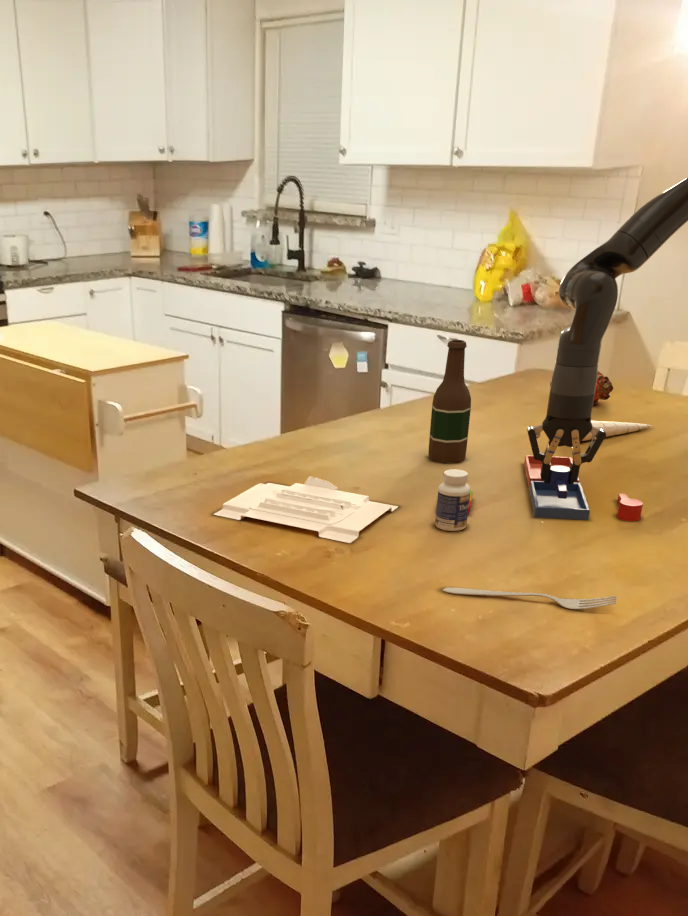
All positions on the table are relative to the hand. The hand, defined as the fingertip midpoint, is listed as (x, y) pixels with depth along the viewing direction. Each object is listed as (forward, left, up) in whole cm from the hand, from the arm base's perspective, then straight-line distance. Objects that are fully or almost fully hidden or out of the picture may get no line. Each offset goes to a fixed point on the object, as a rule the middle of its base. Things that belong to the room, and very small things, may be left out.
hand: (558, 482), depth 175 cm
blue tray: (0, +3, -3) cm, 4 cm away
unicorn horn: (-14, -43, -3) cm, 45 cm away
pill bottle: (+19, +17, -3) cm, 26 cm away
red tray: (0, -13, -3) cm, 13 cm away
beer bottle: (+20, -22, -3) cm, 30 cm away
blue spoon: (0, +3, 0) cm, 3 cm away
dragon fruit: (-13, -71, -3) cm, 72 cm away
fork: (+8, +45, -3) cm, 46 cm away
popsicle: (+18, +4, -3) cm, 19 cm away
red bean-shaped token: (-12, +5, -3) cm, 13 cm away
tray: (+45, +13, -3) cm, 47 cm away
